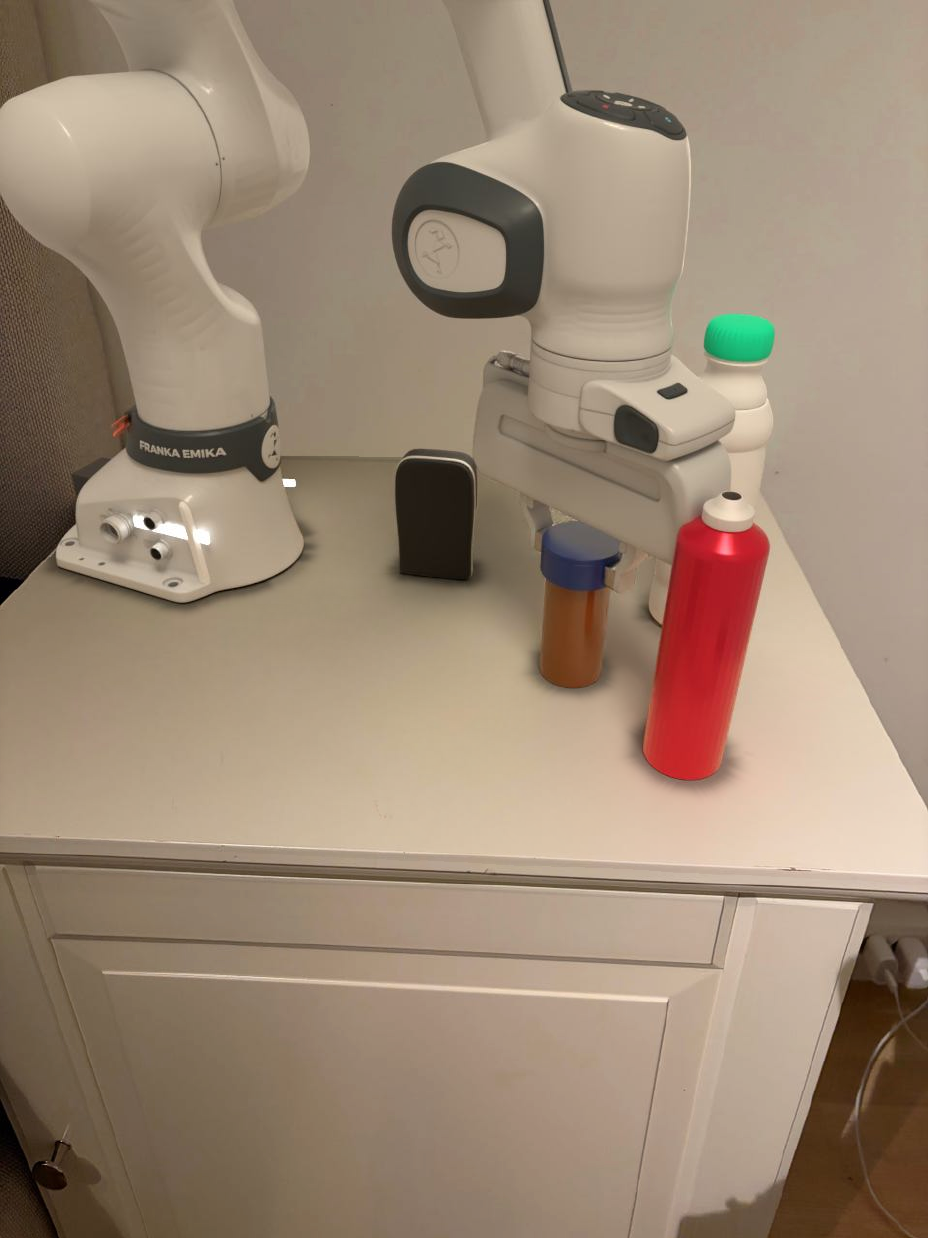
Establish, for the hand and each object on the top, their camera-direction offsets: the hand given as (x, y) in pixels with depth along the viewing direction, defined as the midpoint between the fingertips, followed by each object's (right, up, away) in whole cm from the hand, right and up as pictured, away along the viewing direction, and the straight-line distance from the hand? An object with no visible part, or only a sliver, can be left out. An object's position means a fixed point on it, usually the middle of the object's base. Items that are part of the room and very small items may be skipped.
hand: (580, 567), depth 67 cm
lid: (0, +2, -1) cm, 2 cm away
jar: (0, -8, +5) cm, 9 cm away
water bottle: (+11, -4, +12) cm, 16 cm away
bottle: (+7, -13, -2) cm, 15 cm away
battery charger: (-11, +1, +18) cm, 21 cm away
